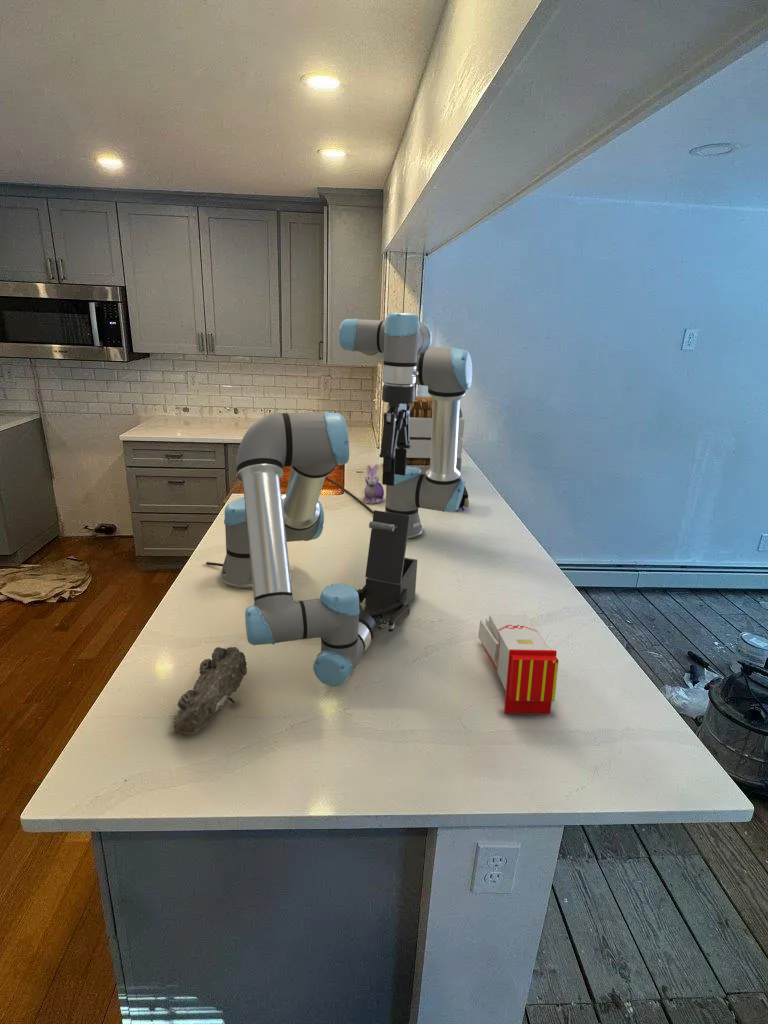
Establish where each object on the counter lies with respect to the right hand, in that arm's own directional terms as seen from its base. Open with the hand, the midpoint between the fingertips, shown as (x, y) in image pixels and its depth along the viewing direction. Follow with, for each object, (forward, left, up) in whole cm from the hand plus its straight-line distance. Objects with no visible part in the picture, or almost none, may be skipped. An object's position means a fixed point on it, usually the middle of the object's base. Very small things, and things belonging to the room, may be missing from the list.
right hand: (394, 479), depth 137 cm
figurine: (-71, +54, -36) cm, 96 cm away
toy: (+37, +4, -36) cm, 52 cm away
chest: (-1, +2, -36) cm, 36 cm away
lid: (+1, -2, -17) cm, 17 cm away
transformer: (-91, +99, -36) cm, 139 cm away
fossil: (+7, -51, -36) cm, 63 cm away
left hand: (+1, -1, -29) cm, 29 cm away
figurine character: (-46, +78, -36) cm, 97 cm away
